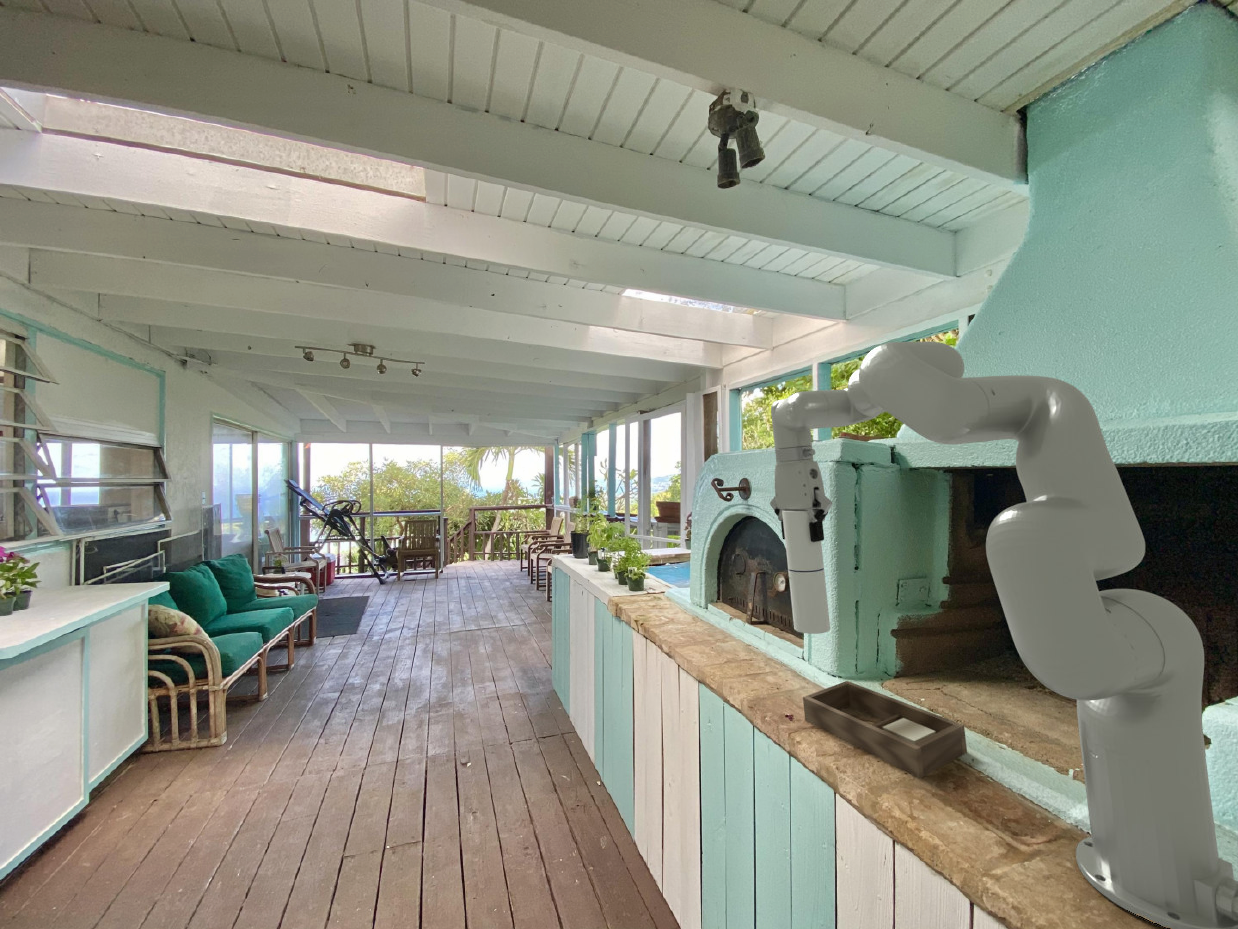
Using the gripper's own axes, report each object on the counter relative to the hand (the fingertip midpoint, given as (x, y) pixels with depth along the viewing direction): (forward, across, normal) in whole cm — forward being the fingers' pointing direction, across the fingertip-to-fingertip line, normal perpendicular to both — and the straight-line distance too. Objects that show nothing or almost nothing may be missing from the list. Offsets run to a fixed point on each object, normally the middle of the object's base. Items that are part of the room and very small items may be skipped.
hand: (802, 539), depth 105 cm
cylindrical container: (+19, 0, 0) cm, 19 cm away
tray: (+33, -18, +5) cm, 38 cm away
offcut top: (+31, -23, +5) cm, 39 cm away
